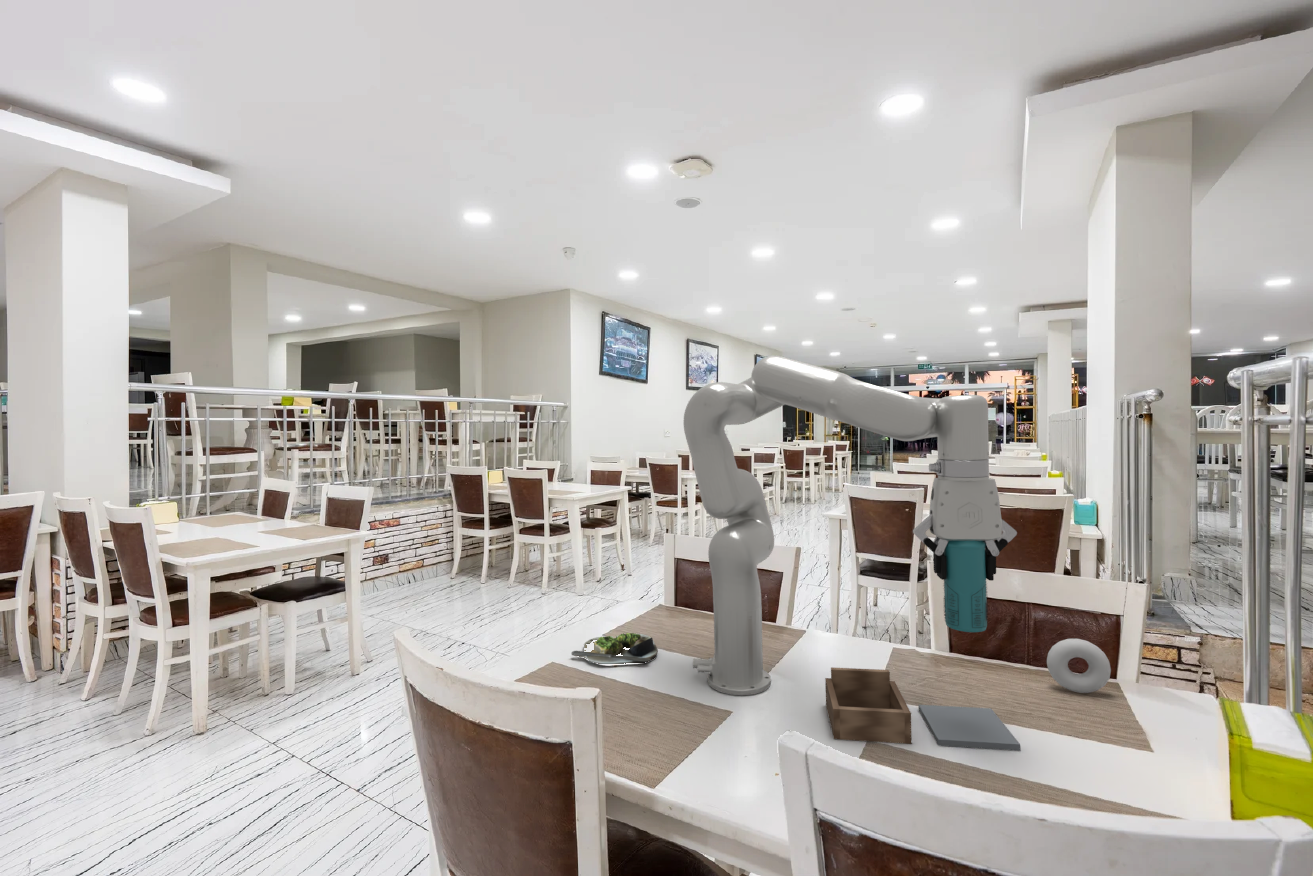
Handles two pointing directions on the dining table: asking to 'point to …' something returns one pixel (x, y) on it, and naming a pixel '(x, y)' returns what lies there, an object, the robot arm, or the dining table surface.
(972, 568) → the beverage bottle
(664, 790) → the dining table surface
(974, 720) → the slate mat
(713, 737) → the dining table surface
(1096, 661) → the donut
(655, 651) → the salad plate
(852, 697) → the brown wooden open box
